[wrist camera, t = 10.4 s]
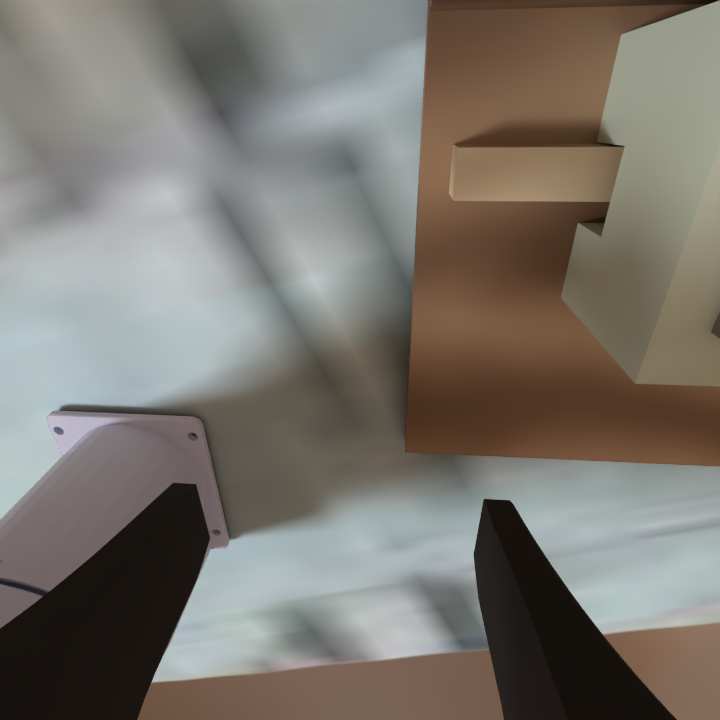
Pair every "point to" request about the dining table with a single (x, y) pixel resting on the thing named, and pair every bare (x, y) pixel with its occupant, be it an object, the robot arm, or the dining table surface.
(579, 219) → the wall board
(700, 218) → the cabinet block
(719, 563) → the dining table surface
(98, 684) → the robot arm
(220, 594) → the dining table surface
